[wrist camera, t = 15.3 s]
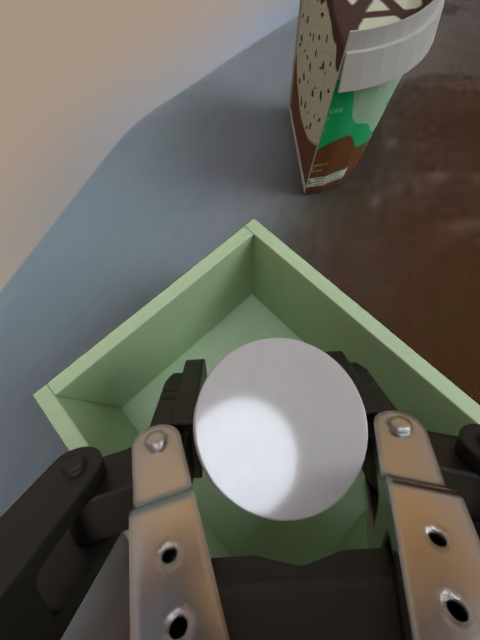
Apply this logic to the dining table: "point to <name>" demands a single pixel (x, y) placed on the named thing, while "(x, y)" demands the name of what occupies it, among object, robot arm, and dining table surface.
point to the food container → (350, 77)
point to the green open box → (219, 340)
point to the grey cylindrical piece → (280, 429)
